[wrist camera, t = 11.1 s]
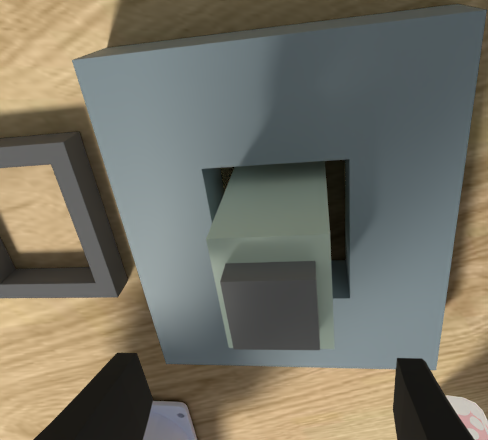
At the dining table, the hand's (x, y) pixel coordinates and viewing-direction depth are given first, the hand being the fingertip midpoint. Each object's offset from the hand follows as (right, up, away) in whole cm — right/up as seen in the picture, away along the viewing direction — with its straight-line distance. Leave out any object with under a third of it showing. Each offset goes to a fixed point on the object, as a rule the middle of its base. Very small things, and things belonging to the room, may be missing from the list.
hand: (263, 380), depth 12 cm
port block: (+1, +5, +9) cm, 10 cm away
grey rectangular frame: (-12, +5, +11) cm, 17 cm away
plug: (+1, +5, +9) cm, 11 cm away
